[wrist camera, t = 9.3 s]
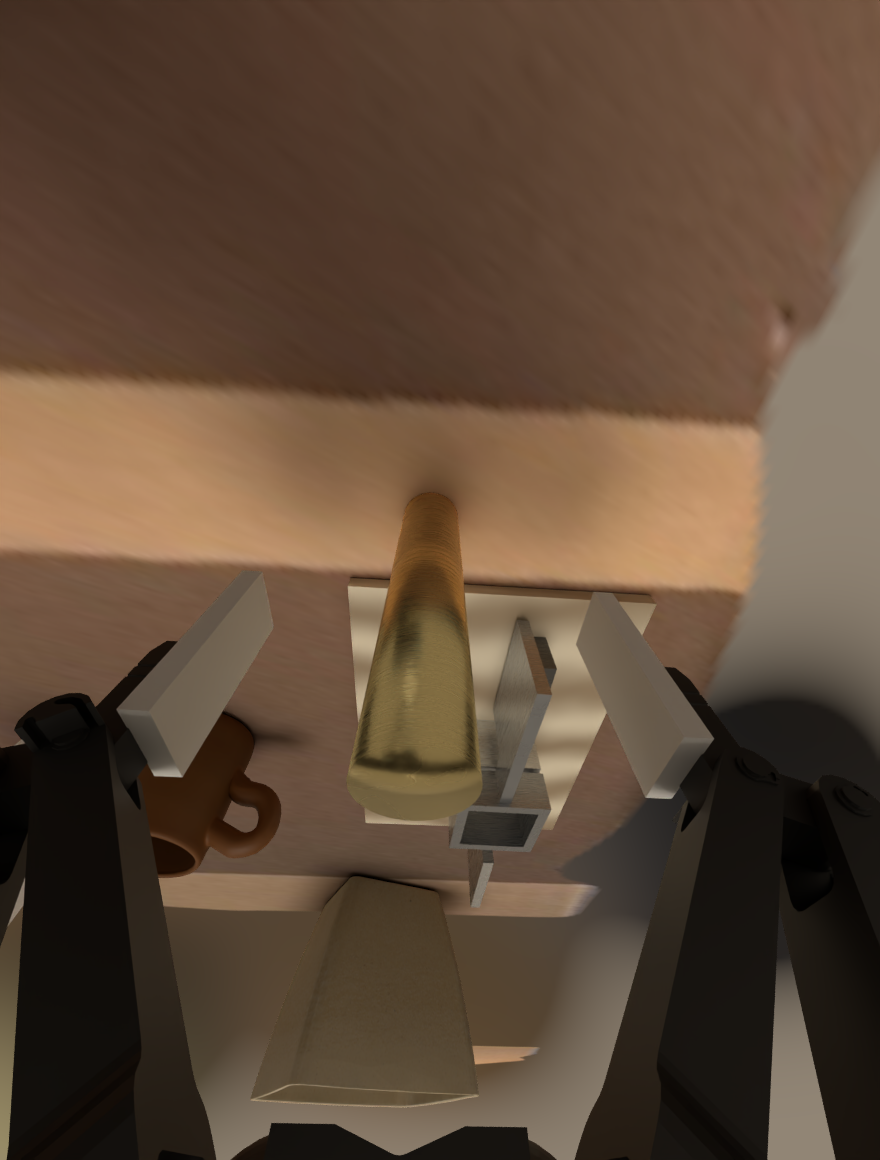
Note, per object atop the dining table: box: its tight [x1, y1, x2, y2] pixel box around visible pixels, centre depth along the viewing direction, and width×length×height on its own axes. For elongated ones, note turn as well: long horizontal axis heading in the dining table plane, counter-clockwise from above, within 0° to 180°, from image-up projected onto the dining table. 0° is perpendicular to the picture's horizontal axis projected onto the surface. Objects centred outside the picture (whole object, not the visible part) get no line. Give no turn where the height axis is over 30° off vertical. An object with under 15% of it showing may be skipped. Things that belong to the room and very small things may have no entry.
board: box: [348, 578, 657, 830], centre depth 33 cm, size 30×20×1 cm, turn 176°
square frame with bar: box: [449, 620, 552, 852], centre depth 27 cm, size 17×6×6 cm, turn 174°
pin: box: [347, 493, 483, 821], centre depth 16 cm, size 3×3×16 cm
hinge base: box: [468, 637, 557, 907], centre depth 30 cm, size 26×6×7 cm, turn 176°
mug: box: [138, 713, 281, 878], centre depth 30 cm, size 12×8×9 cm, turn 83°
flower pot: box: [250, 876, 479, 1108], centre depth 46 cm, size 19×19×17 cm
